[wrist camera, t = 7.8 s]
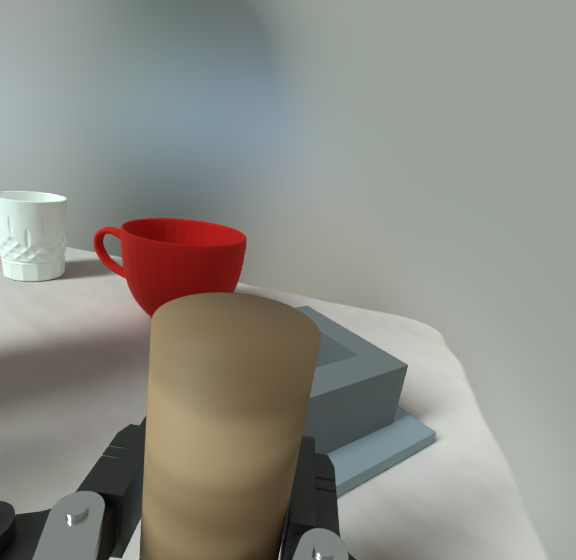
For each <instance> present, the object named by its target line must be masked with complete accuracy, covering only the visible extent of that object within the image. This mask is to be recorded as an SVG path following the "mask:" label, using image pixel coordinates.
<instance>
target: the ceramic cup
mask: <svg viewBox="0 0 576 560" xmlns="http://www.w3.org/2000/svg"><path fill="white" fill-rule="evenodd" d="M105 234H112V235H115V236H116V237H118V238H119V239H120V240H121V249H122V261H123V267H121V266H120V265H118V264H117V263H116V262H114V261H113V260H112V259H111V258H110V256H109V255H108V254H107V252H106V250H105V248H104V245H103V238H104V236H105ZM94 248H95V251H96V253H97V255H98V257H99V258H100V260H101V261H102V262H103V263H104V264H105V265H106V266H107V267H108V268H109V269H110V270H112V271H113V272H115V273H116V274H118V275H120V276H122V277H124V278H126V280H127V284H128V286H129V289H130V291H131V293H132V295H133V296H134V298H135V300H136V301H137V303H138V304H139V305H140V306H141V308H142V309H143V310H144V311H145V312H146V313H147V314H148V315H149V316H150V317H151V319H152V316H153V314H154V313H155V311H156V310H157V309H158V308H159V307H161V306H162V305H164V304H165V303H167V302H169V301H172V300H174V299H177V298H180V297H184V296H188V295H194V294H201V293H220V292H221V293H233V292H234V290H235V288H236V285H237V283H238V280H239V277H240V273H241V270H242V265H243V261H244V255H245V250H246V236H245V235H244V234H243V233H241V232H240V231H238V230H235V229H233V228H229V227H226V226H222V225H218V224H213V223H208V222H202V221H193V220H185V219H170V218H150V219H139V220H132V221H128V222H126V223H124V224H122V226H121V230H120V229H117V228H114V227H106V228H102V229H100V230H99V231H98V232H97V233H96V235H95V237H94Z"/></svg>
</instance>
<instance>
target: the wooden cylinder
mask: <svg viewBox="0 0 576 560" xmlns="http://www.w3.org/2000/svg"><path fill="white" fill-rule="evenodd" d="M320 343H321V333H320V330H319V328H318V326H317V325H316V324H315V322H314V321H313V320H312V319H311V318H309V317H308V316H307V315H305V314H304V313H302V312H301V311H299V310H297V309H295V308H293V307H291V306H289V305H286V304H284V303H281V302H278V301H275V300H271V299H268V298H263V297H259V296H254V295H248V294H239V293H221V292H220V293H201V294H194V295H188V296H184V297H180V298H177V299H174V300H172V301H169V302H167V303H165V304H164V305H162V306H161V307H159V308H158V309H157V310H156V311H155V313H154V314H153V316H152V319H151V334H150V354H149V375H148V395H147V415H146V436H145V456H144V477H143V497H142V518H141V538H140V559H139V560H278V557H279V552H280V547H281V541H282V536H283V531H284V526H285V521H286V516H287V511H288V506H289V501H290V496H291V491H292V485H293V480H294V475H295V470H296V465H297V460H298V455H299V450H300V445H301V440H302V435H303V429H304V424H305V419H306V414H307V409H308V404H309V399H310V394H311V389H312V384H313V378H314V373H315V368H316V363H317V358H318V353H319V348H320Z"/></svg>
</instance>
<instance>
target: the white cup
mask: <svg viewBox="0 0 576 560" xmlns="http://www.w3.org/2000/svg"><path fill="white" fill-rule="evenodd" d="M66 238H67V198H66V197H64V196H60V195H56V194H50V193H42V192H29V191H1V192H0V256H1V260H2V268H3V274H4V276H5V277H7V278H9V279H12V280H17V281H44V280H51V279H55V278H58V277H60V276H62V275H63V274H64V273H65V256H64V255H65V252H66Z"/></svg>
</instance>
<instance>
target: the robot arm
mask: <svg viewBox="0 0 576 560" xmlns="http://www.w3.org/2000/svg"><path fill="white" fill-rule="evenodd" d="M145 436H146V416H145V418H144V419H143V421H142V423H141V424H140V426H139V425H133V424H130V425H129V426H127V427H126V428H124V429H123V430H121V431H120V432H118V433H117V435H116V436H115V437H114V439H113V440H112V442H111V443H110V444H109V447H107V449H106V450H105V452H104V453H103V455H102V456H101V457H100V459H99V460H98V461H97V463H96V464H95V466H94V467H93V468H92V470H91V471H90V473H89V474H88V475H87V477H86V478H85V480H84V481H83V482H82V484H81V485H80V487H79V488H78V489H77V491H76V492H75V493H72V494H70V495H67V496H66V497H64V498H62V499H61V500H60V501H58V502H57V503H56V504H55V505H54V506H53V508H52V509H49V510H45V511H40V512H33V513H25V514H17V515H15V510H14V508H13V507H12V505H10V504H9V503H7V502H3V501H0V560H109V558H110V557H116V558H122V556H123V554H124V552H125V550H126V548H127V546H128V544H129V542H130V540H131V537H132V535H133V533H134V531H135V529H136V527H137V525H138V523H139V521H140V519H141V517H142V497H143V477H144V456H145ZM335 480H336V479H335V467H334V465H333V463H332V461H331V460H330V458H329V456H328V455H325V454H319V453H315V437H310V436H304V435H302V440H301V445H300V450H299V455H298V460H297V465H296V470H295V475H294V480H293V485H292V491H291V496H290V501H289V506H288V511H287V516H286V521H285V526H284V531H283V536H282V544H281V556H280V560H356V559H355V558H354V557H353V556H351V555H350V554H349V552H348V550H347V548H346V545H345V544H344V542H343V541H342V539H341V538H340V533H339V519H338V506H337V493H336V482H335Z"/></svg>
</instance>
